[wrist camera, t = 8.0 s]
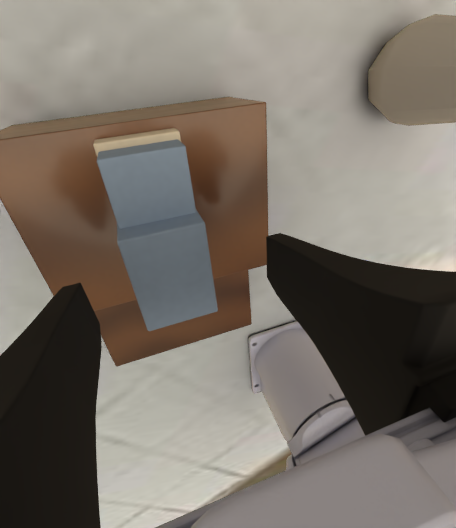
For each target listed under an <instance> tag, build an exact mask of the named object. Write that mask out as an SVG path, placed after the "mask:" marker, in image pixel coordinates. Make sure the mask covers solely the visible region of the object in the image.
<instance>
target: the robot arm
mask: <svg viewBox="0 0 456 528" xmlns="http://www.w3.org/2000/svg"><path fill="white" fill-rule="evenodd" d="M266 249H267V278H268V280H269V281H270V283H271V285H272V287H273V289H274V290H275V292H276V294H277V296H278V297H279V298H280V300H281V301H282V302H283V304H284V305H285V306H286V307H287V309H288V310H289V311H290V313H291V314H292V315H293V316H294V318H295V319H296V320H297V321H296V322H292V323H289V324H286V325H283V326H280V327H277V328H274V329H271V330H268V331H264V332H261V333H258V334H255V335H252V336H250V337H249V339H248V342H249V355H250V369H251V382H252V391H253V393H259V392H261V391H262V393H263V395H264V397H265V399H266V401H267V403H268V405H269V408H270V410H271V412H272V414H273V416H274V418H275V420H276V422H277V424H278V426H279V429H280V431H281V433H282V435H283V436H284V438H285V440H286V441H287V444H288V446H289V449H290V451H291V453H292V455H290V456H289V457H288V458H287V468H286V471H284V472H281V473H279V474H277V475H274V476H272V477H270V478H268V479H265V480H263V481H261V482H258V483H256V484H254V485H252V486H249V487H247V488H245V489H242V490H240V491H238V492H236V493H233V494H231V495H229V496H226V497H224V498H222V499H220V500H217V501H215V502H213V503H210V504H208V505H206V506H204V507H201V508H199V509H197V510H194V511H192V512H190V513H188V514H185V515H183V516H181V517H178V518H176V519H174V520H172V521H169V522H167V523H165V524H162V525H160V526H158V527H156V528H456V272H446V271H433V270H421V269H412V268H404V267H398V266H391V265H385V264H380V263H374V262H370V261H366V260H361V259H357V258H353V257H349V256H346V255H343V254H339V253H336V252H333V251H330V250H327V249H324V248H321V247H318V246H315V245H313V244H310V243H307V242H305V241H302V240H299V239H296V238H294V237H291V236H288V235H285V234H281V233H279V234H275V235H271V236H267V237H266ZM100 358H101V331H100V323H99V321H98V319H97V316H96V314H95V312H94V310H93V308H92V306H91V304H90V301H89V299H88V297H87V295H86V293H85V291H84V289H83V286H82V284H81V283H77V284H73V285H69V286H64V287H62V288H61V289H60V290H59V291H58V292H57V293H56V295H55V296H54V297H53V298H52V299H51V300H50V302H49V303H48V304H47V305H46V306H45V308H44V309H43V310H42V311H41V312H40V313H39V315H38V316H37V317H36V318H35V319H34V320H33V322H32V323H31V324H30V325H29V326H28V327H27V328H26V329H25V330H24V332H23V333H22V334H21V335H20V336H19V337H18V338H17V339H16V340H15V341H14V342H13V343H12V344H11V345H10V346H9V348H8V349H7V350H6V351H5V352H4V353H3V354H2V355H1V356H0V528H100V516H99V501H98V484H97V462H96V422H95V416H96V400H97V389H98V379H99V369H100Z"/></svg>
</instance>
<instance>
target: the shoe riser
mask: <svg viewBox="0 0 456 528" xmlns="http://www.w3.org/2000/svg"><path fill="white" fill-rule="evenodd" d="M171 128H175V129H177V130H178V131H179V132H180V138H181V142H182V143H183V144H184V145H185V147H186V152H187V159H188V165H189V171H190V177H191V183H192V189H193V195H194V202H195V208H196V210H197V212H198V213H199V215H200V216H201V218H202V219H203V221H204V223H205V227H206V233H207V240H208V247H209V254H210V260H211V267H212V274H213V281H214V287H215V294H216V301H217V308H218V311H217V312H214V313H210V314H207V315H203V316H200V317H197V318H193V319H190V320H186V321H183V322H180V323H176V324H173V325H169V326H166V327H163V328H159V329H156V330H152V331H148V330H147V327H146V324H145V321H144V319H143V316H142V313H141V310H140V307H139V304H138V301H137V298H136V295H135V293H134V290H133V287H132V284H131V281H130V278H129V275H128V272H127V269H126V267H125V264H124V261H123V258H122V255H121V252H120V249H119V246H118V243H117V221H116V218H115V215H114V212H113V209H112V206H111V203H110V200H109V197H108V194H107V191H106V188H105V185H104V182H103V179H102V176H101V173H100V170H99V167H98V164H97V155H96V152H95V149H94V146H93V144H94V141H95V140H97V139H103V138H110V137H117V136H124V135H130V134H137V133H144V132H150V131H157V130H164V129H171ZM0 199H1V201H2V202H3V204H4V206H5V208H6V210H7V212H8V213H9V215H10V217H11V219H12V221H13V223H14V224H15V226H16V228H17V230H18V232H19V233H20V235H21V237H22V239H23V241H24V243H25V244H26V246H27V248H28V250H29V252H30V253H31V255H32V257H33V259H34V261H35V263H36V264H37V266H38V268H39V270H40V272H41V273H42V275H43V277H44V279H45V281H46V283H47V284H48V286H49V288H50V290H51V292H52V293H53V295H54V296H55V295H56V293H57V292H58V291H59V290H60V289H61V288H62V287H64V286H69V285H73V284H77V283H81V284H82V286H83V289H84V291H85V293H86V295H87V297H88V299H89V301H90V304H91V306H92V308H93V310H94V312H95V314H96V316H97V319H98V321H99V323H100V331H101V336H102V338H103V340H104V342H105V344H106V346H107V348H108V350H109V353H110V355H111V357H112V359H113V361H114V363H115V365H116V366H120V365H123V364H126V363H129V362H132V361H136V360H139V359H142V358H145V357H148V356H152V355H155V354H158V353H161V352H164V351H167V350H171V349H174V348H177V347H180V346H183V345H187V344H190V343H193V342H196V341H199V340H203V339H206V338H209V337H212V336H215V335H219V334H222V333H225V332H228V331H231V330H235V329H238V328H241V327H244V326H247V325H251V309H250V293H249V277H248V270H249V269H252V268H256V267H260V266H263V265H267V249H266V237H267V236H268V193H267V130H266V102H260V101H254V100H247V99H240V98H233V97H223V98H216V99H208V100H200V101H193V102H185V103H178V104H170V105H162V106H155V107H147V108H139V109H132V110H124V111H117V112H109V113H101V114H94V115H86V116H79V117H71V118H63V119H56V120H48V121H41V122H33V123H25V124H18V125H12V126H9V127H7V128H5V129H2V130H0Z"/></svg>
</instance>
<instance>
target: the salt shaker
mask: <svg viewBox="0 0 456 528" xmlns="http://www.w3.org/2000/svg"><path fill="white" fill-rule="evenodd" d="M368 100H369V101H370V102H371V103H372V104H373V105H374V106H375V107H377V108H378V109H379V110H380V111H381V113H382V114H383V115H384V116H385V117H386V118H387V119H388V120H389V121H390V122H393V123H396V124H402V125H409V126H410V125H424V124H439V123H453V122H456V16H449V15H437V14H435V15H432V16H430V17H427V18H424V19H422V20H419V21H417V22H414V23H412V24H410V25H408V26H407V27H405V28H404V29H403V30H402V31H401V32H399V33H398V34H397V35H396V36H394V37H393V38H392V39H391V40H390V41H388V42H387V43H386V44H385V46H384V47H383V49H382V50H381V52H380V53H379V55H378V56H377V58H376V59H375V61H374V62H373V64H372V65H371V67H370V68H369V70H368Z"/></svg>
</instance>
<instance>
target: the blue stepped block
mask: <svg viewBox="0 0 456 528" xmlns="http://www.w3.org/2000/svg"><path fill="white" fill-rule="evenodd" d="M93 146H94V149H95V152H96V155H97V164H98V167H99V170H100V173H101V176H102V179H103V182H104V185H105V188H106V191H107V194H108V197H109V200H110V203H111V206H112V209H113V212H114V215H115V218H116V221H117V243H118V246H119V249H120V252H121V255H122V258H123V261H124V264H125V267H126V269H127V272H128V275H129V278H130V281H131V284H132V287H133V290H134V293H135V295H136V298H137V301H138V304H139V307H140V310H141V313H142V316H143V319H144V321H145V324H146V327H147V330H148V331H152V330H156V329H159V328H163V327H166V326H169V325H173V324H176V323H180V322H183V321H186V320H190V319H193V318H197V317H200V316H203V315H207V314H210V313H214V312H217V311H218V308H217V301H216V294H215V287H214V281H213V274H212V267H211V260H210V254H209V247H208V240H207V233H206V227H205V223H204V221H203V219H202V218H201V216H200V215H199V213H198V212H197V210H196V208H195V202H194V195H193V189H192V183H191V177H190V171H189V165H188V159H187V152H186V147H185V145H184V144H183V143H182V142H181V138H180V132H179V131H178V130H177V129H175V128H171V129H164V130H157V131H150V132H144V133H137V134H130V135H124V136H117V137H110V138H103V139H97V140H95V141H94V144H93Z"/></svg>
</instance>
